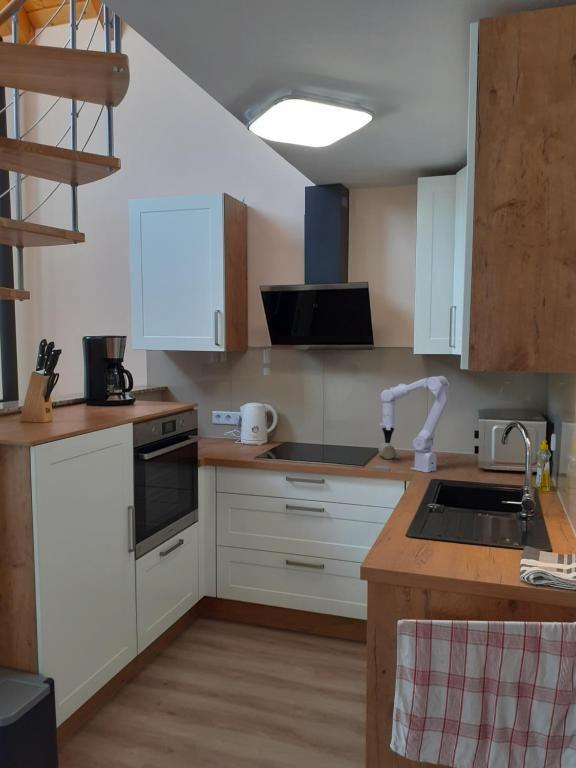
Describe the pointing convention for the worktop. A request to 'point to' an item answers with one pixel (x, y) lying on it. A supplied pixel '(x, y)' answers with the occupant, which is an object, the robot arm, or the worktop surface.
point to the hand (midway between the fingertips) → (387, 442)
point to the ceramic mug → (387, 451)
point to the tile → (382, 468)
